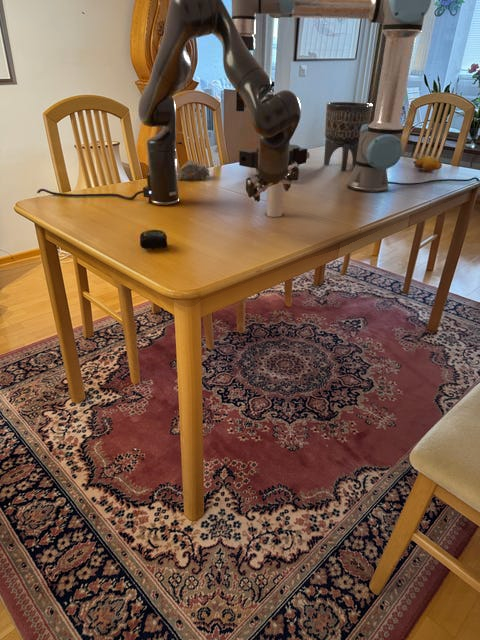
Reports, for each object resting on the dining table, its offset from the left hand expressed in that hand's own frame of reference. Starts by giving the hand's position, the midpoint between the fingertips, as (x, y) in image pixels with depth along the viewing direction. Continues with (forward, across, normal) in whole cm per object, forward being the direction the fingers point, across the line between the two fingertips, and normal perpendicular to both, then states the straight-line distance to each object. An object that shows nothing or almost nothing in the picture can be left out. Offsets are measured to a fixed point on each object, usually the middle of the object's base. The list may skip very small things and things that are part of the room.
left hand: (271, 193), depth 127 cm
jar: (+18, -2, -2) cm, 18 cm away
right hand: (+18, -7, -43) cm, 47 cm away
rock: (+50, +14, -44) cm, 68 cm away
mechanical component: (+61, -22, -39) cm, 76 cm away
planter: (+74, -53, -38) cm, 99 cm away
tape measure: (-6, +35, +6) cm, 36 cm away
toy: (+74, -88, -23) cm, 117 cm away
